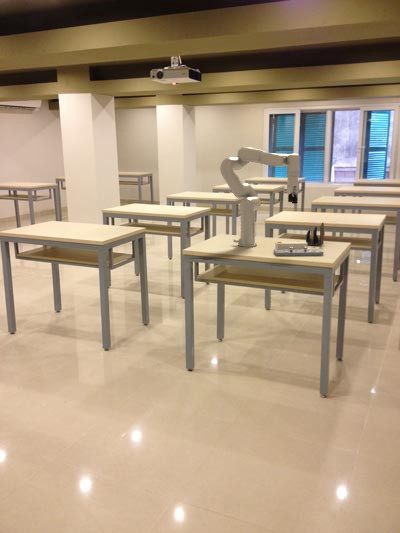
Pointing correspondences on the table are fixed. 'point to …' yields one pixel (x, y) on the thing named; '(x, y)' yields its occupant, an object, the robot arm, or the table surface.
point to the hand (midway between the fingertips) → (292, 202)
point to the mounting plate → (298, 252)
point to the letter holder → (315, 237)
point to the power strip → (290, 245)
